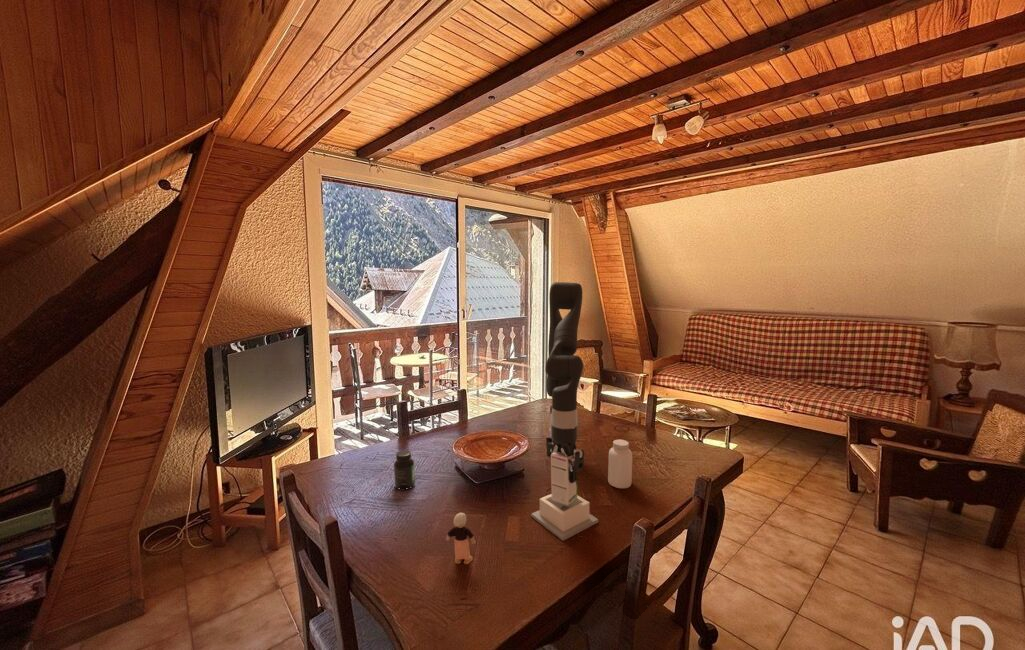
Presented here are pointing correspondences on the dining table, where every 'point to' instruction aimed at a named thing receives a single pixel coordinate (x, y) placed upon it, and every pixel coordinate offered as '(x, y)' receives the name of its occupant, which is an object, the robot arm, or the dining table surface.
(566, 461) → the syrup box
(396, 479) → the supplement bottle
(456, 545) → the grandmother figurine
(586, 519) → the socket
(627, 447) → the pill bottle
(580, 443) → the dining table surface
